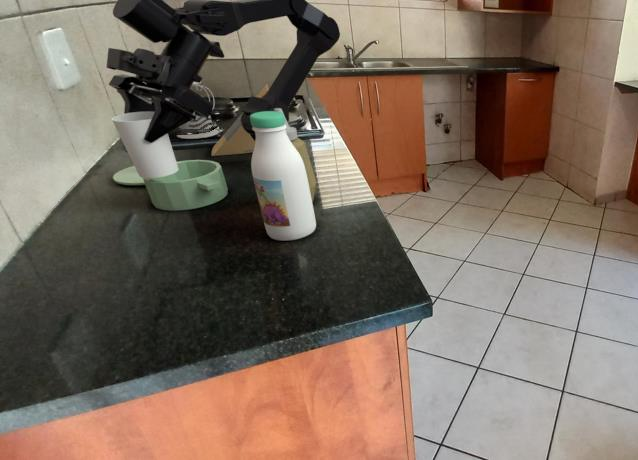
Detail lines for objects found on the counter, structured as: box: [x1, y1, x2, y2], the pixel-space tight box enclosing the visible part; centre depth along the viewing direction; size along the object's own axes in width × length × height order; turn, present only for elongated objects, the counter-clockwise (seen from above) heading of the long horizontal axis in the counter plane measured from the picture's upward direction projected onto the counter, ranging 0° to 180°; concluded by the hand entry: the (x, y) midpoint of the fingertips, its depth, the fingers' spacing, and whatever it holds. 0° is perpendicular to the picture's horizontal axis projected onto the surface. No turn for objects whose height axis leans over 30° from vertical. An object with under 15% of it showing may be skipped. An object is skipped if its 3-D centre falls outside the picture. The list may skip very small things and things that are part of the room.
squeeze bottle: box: [274, 108, 317, 202], centre depth 79 cm, size 8×8×18 cm
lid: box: [112, 160, 178, 186], centre depth 89 cm, size 13×13×6 cm
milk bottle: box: [250, 111, 317, 242], centre depth 68 cm, size 8×8×20 cm
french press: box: [176, 81, 220, 140], centre depth 113 cm, size 10×12×25 cm
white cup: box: [111, 111, 179, 178], centre depth 74 cm, size 7×7×10 cm
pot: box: [143, 159, 229, 212], centre depth 81 cm, size 12×17×6 cm
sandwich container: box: [211, 83, 270, 157], centre depth 106 cm, size 9×15×15 cm, turn 118°
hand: (136, 138), depth 72 cm, fingers closed on white cup, 6 cm apart
